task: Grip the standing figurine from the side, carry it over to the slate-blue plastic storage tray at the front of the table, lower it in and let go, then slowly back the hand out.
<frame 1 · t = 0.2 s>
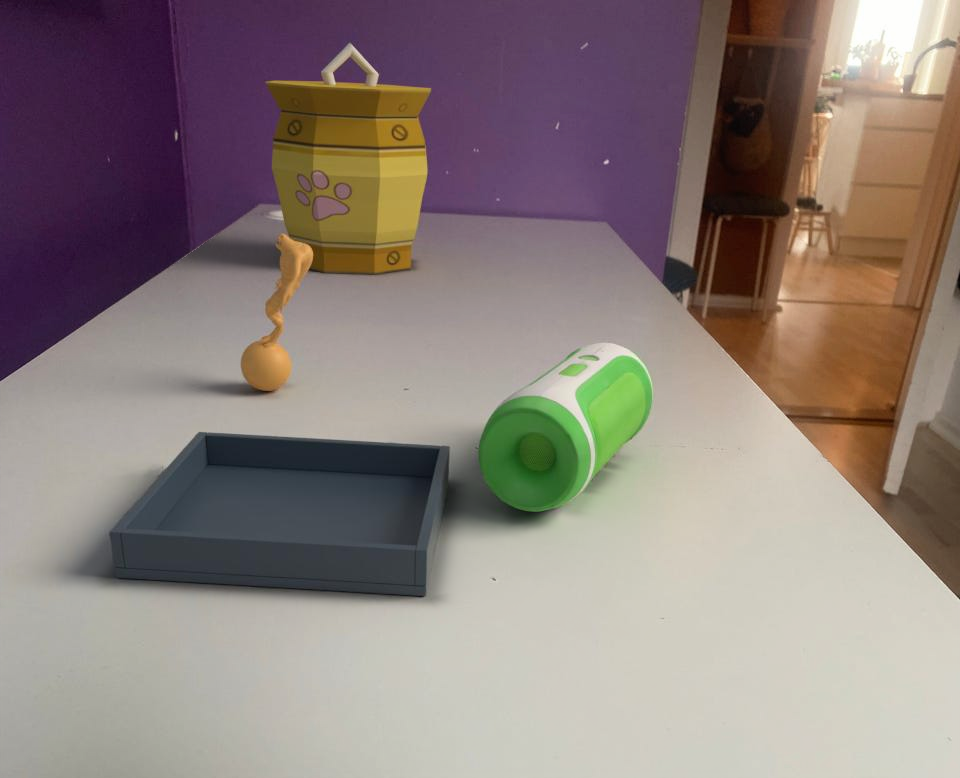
tray: (300, 525, 61), on the table
figurine: (280, 392, 84), on the table
container: (353, 264, 136), on the table
speaker: (567, 478, 70), on the table
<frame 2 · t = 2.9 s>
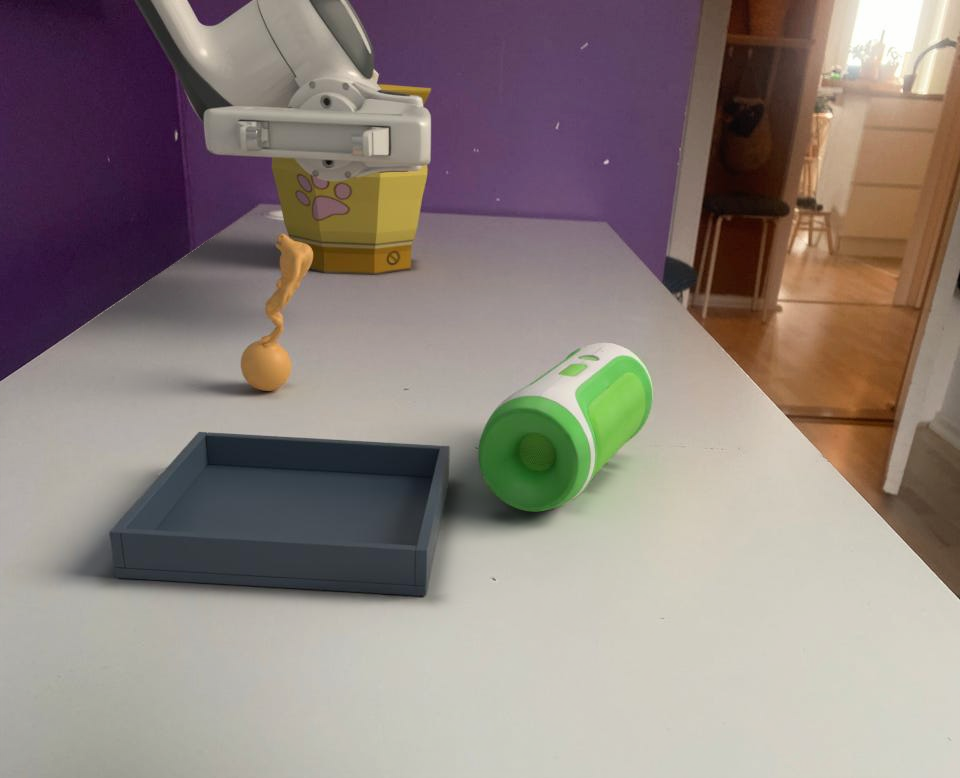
hand: (304, 142, 87), 17 cm above the table, tool horizontal, fingers open, 8 cm apart
nothing on the table moved.
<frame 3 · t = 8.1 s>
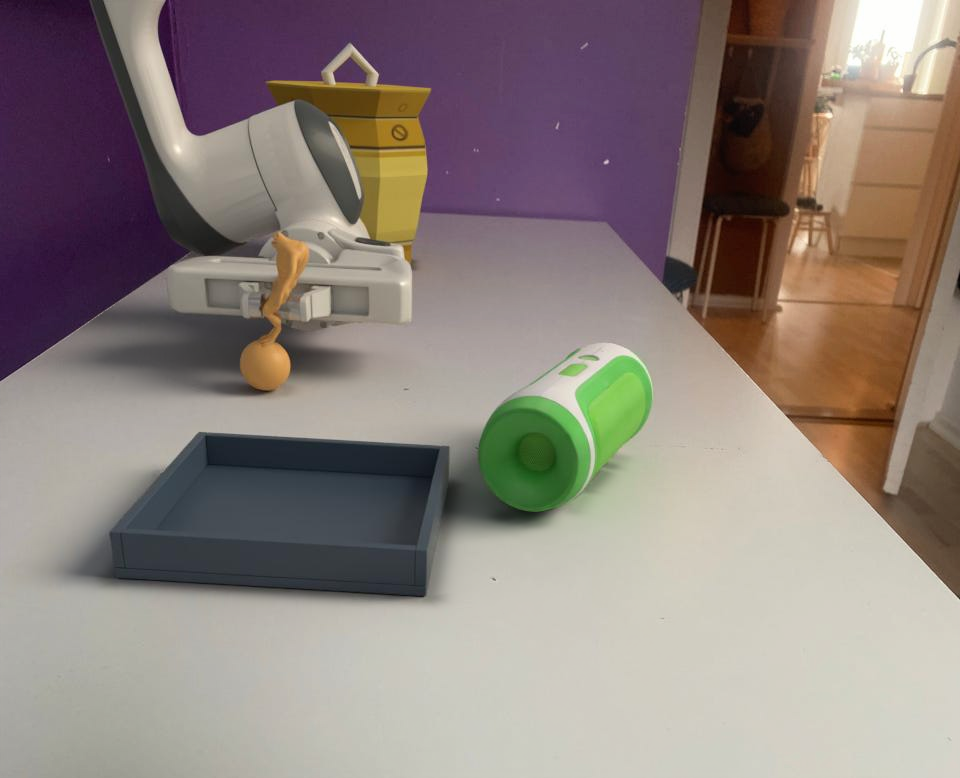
hand: (274, 309, 80), 7 cm above the table, tool horizontal, fingers closed on figurine, 2 cm apart
figurine: (280, 391, 84), on the table, touching gripper
everything else where it was.
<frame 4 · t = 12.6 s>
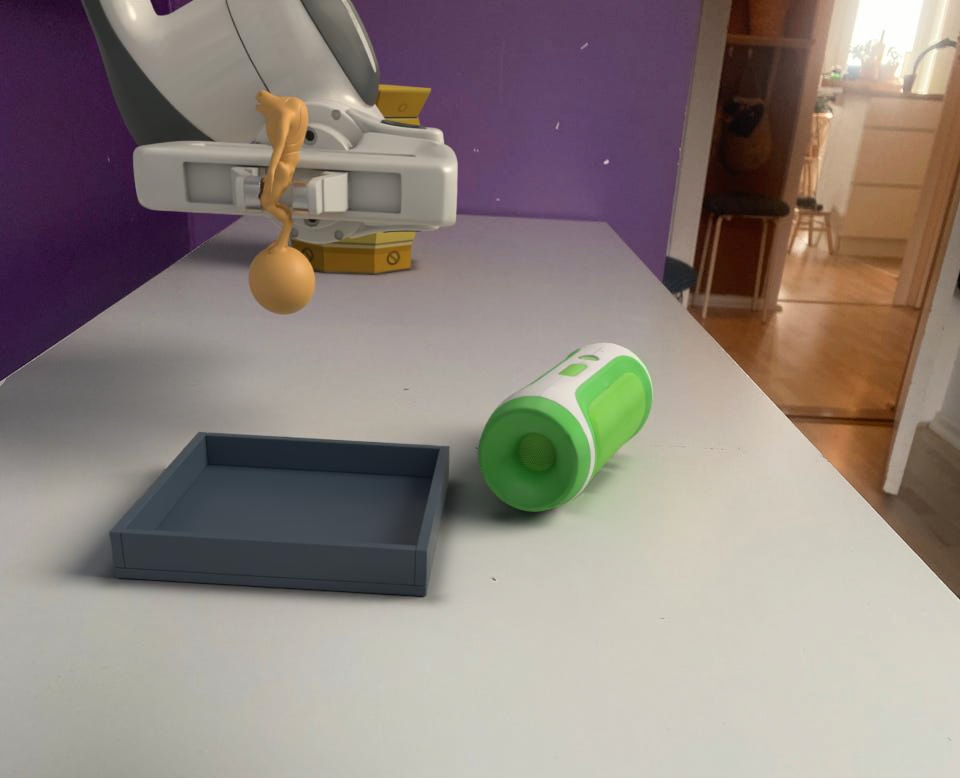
hand: (276, 197, 60), 17 cm above the table, tool horizontal, fingers closed on figurine
figurine: (308, 312, 64), point 10 cm above the table, touching gripper
everything else where it was.
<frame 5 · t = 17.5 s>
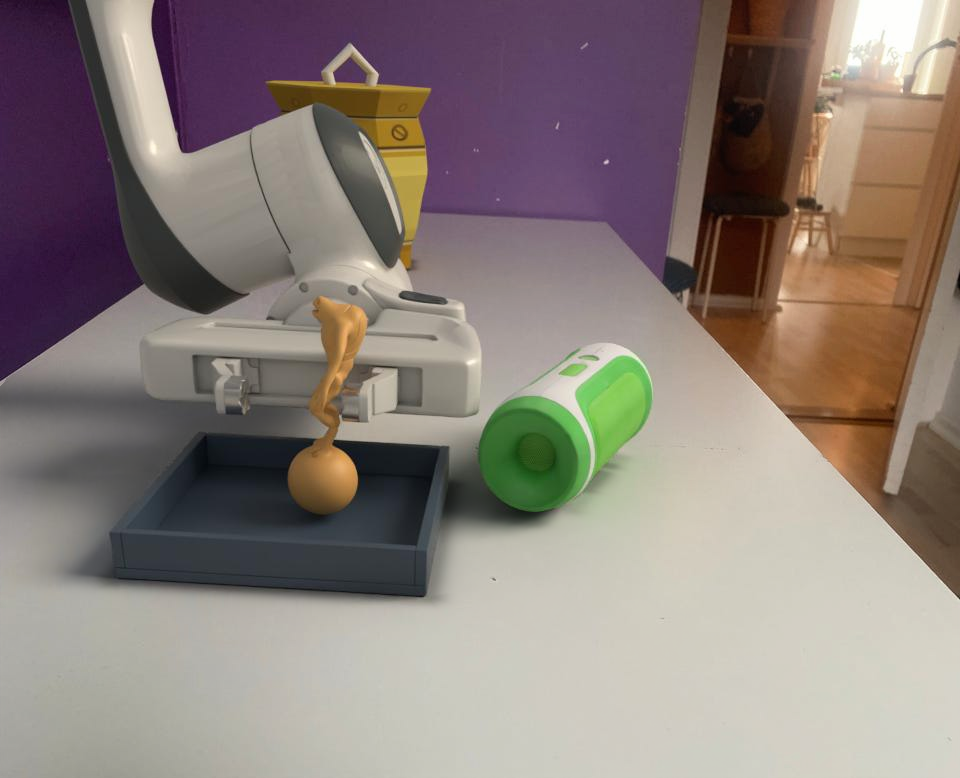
hand: (291, 404, 56), 7 cm above the table, tool horizontal, fingers open, 5 cm apart
figurine: (347, 512, 60), point 1 cm above the table, touching gripper
everything else where it was.
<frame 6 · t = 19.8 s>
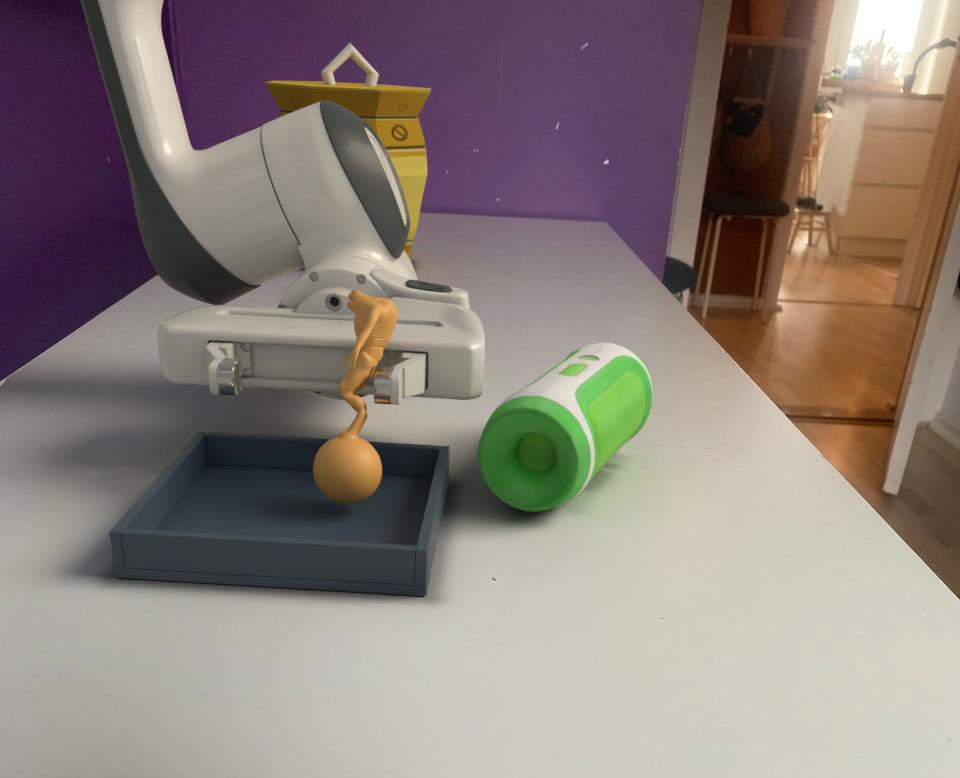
hand: (303, 386, 59), 8 cm above the table, tool horizontal, fingers open, 8 cm apart
figurine: (370, 505, 60), point 1 cm above the table, touching tray
everything else where it was.
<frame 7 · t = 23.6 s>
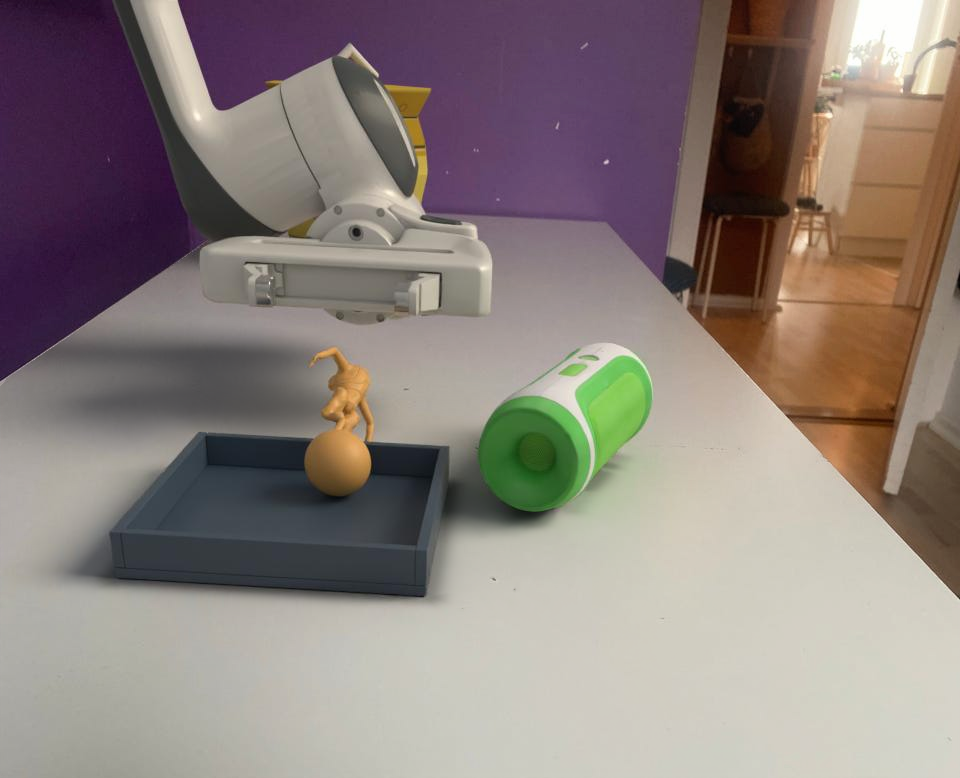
hand: (331, 298, 66), 10 cm above the table, tool horizontal, fingers open, 8 cm apart
figurine: (360, 473, 61), point 3 cm above the table, touching tray
everything else where it was.
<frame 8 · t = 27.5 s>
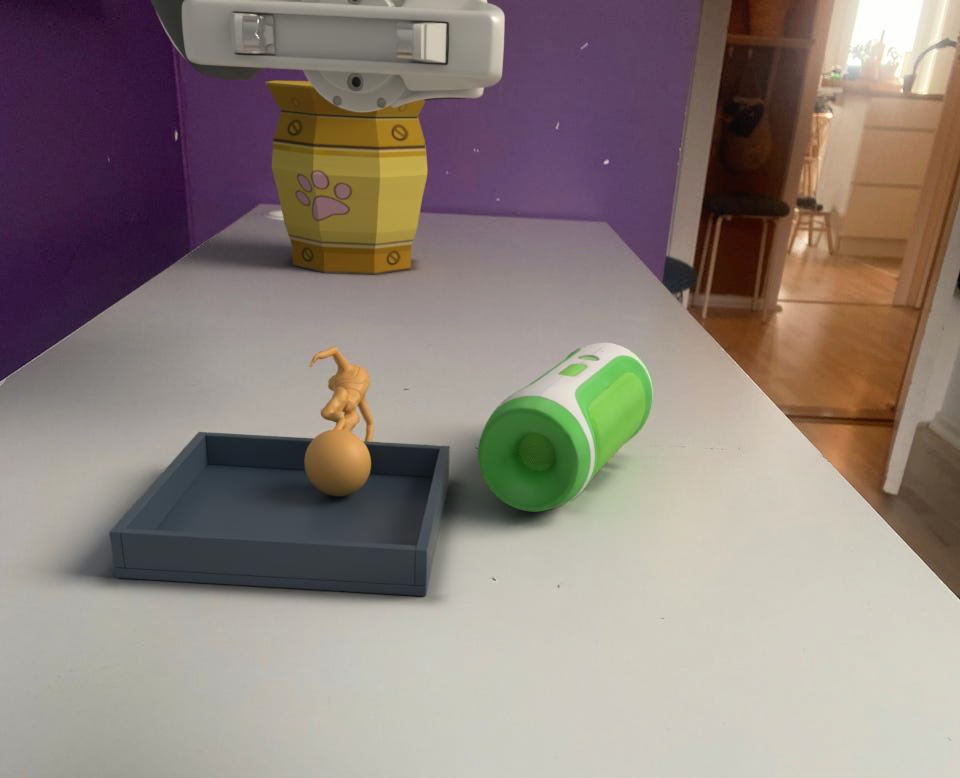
hand: (327, 37, 60), 25 cm above the table, tool horizontal, fingers open, 8 cm apart
nothing on the table moved.
at the end: figurine inside the target area on the tray (3.7 cm from its centre), point 2.8 cm above the tray's base; figurine touching tray; the gripper is holding nothing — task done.
